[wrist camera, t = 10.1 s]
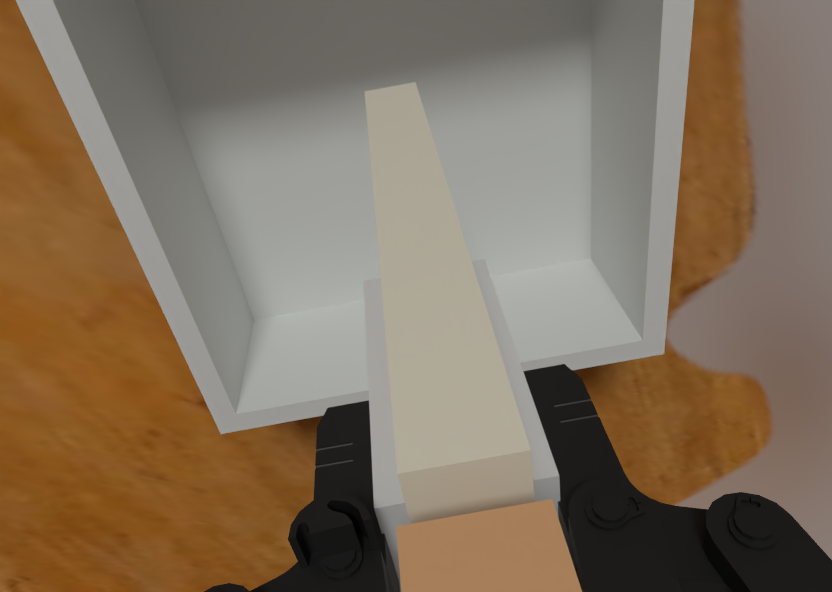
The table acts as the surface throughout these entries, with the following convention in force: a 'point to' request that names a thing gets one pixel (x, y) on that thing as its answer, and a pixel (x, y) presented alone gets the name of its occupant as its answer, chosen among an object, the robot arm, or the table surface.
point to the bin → (352, 178)
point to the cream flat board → (450, 385)
